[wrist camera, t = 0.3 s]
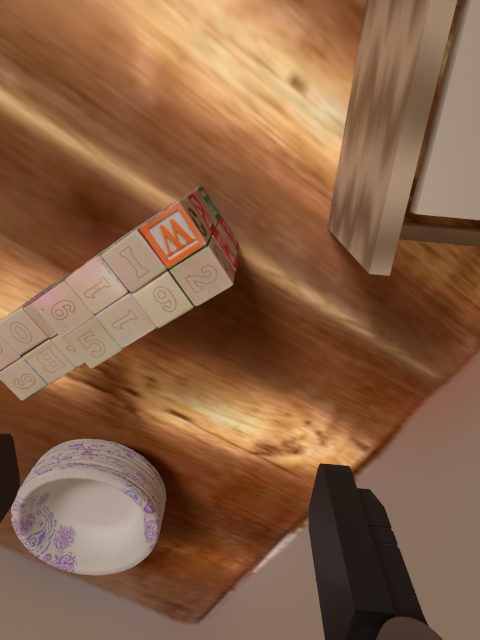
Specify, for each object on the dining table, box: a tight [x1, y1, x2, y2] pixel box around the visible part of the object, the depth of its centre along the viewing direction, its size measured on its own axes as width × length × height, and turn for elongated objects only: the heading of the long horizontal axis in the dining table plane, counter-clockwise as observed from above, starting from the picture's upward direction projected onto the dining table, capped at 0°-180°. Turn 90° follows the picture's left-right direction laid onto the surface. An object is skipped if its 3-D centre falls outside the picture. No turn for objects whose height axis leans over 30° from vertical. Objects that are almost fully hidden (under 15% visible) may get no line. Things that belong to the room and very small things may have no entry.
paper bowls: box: [11, 439, 166, 575], centre depth 45 cm, size 15×15×8 cm
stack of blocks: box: [0, 186, 238, 400], centre depth 33 cm, size 21×6×12 cm, turn 122°
